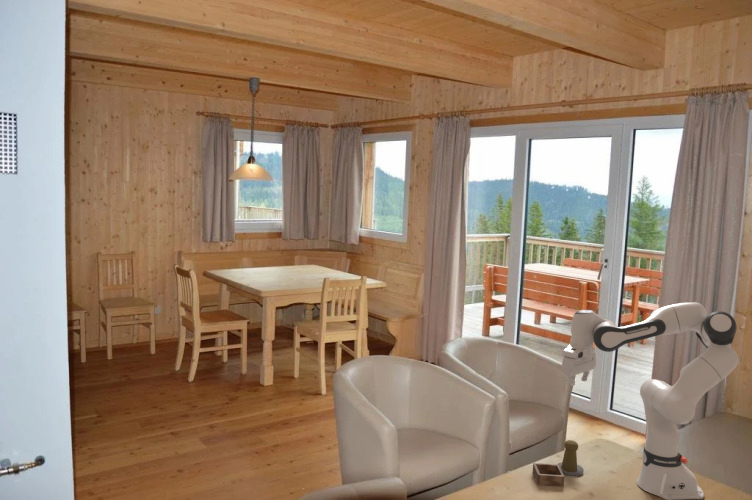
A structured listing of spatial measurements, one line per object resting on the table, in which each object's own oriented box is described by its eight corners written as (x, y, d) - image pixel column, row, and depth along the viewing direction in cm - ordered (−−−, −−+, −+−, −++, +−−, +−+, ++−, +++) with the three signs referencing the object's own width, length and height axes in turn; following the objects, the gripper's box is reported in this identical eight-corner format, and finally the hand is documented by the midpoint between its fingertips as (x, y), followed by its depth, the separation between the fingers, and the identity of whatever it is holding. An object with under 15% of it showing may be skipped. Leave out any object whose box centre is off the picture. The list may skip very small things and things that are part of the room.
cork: (578, 473, 238) (580, 445, 237) (561, 471, 239) (564, 443, 238) (576, 466, 244) (578, 439, 243) (560, 464, 245) (562, 437, 244)
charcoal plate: (579, 465, 247) (579, 462, 247) (586, 477, 237) (586, 474, 237) (554, 463, 247) (554, 461, 247) (560, 475, 237) (560, 473, 237)
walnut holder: (557, 474, 238) (558, 464, 238) (563, 486, 229) (564, 476, 228) (532, 472, 239) (533, 462, 238) (537, 485, 229) (538, 474, 229)
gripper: (587, 344, 259) (584, 376, 260) (560, 351, 245) (557, 385, 247) (601, 347, 254) (598, 380, 256) (574, 355, 240) (571, 390, 242)
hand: (578, 383), depth 251 cm, fingers open, 8 cm apart
